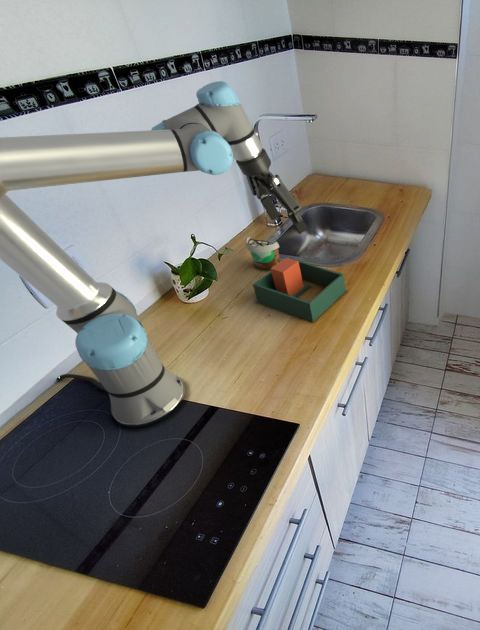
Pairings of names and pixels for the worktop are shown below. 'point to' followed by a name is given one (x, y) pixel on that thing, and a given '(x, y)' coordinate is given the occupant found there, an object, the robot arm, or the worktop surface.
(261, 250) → the food container
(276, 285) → the carton
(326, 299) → the bin
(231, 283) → the worktop surface
